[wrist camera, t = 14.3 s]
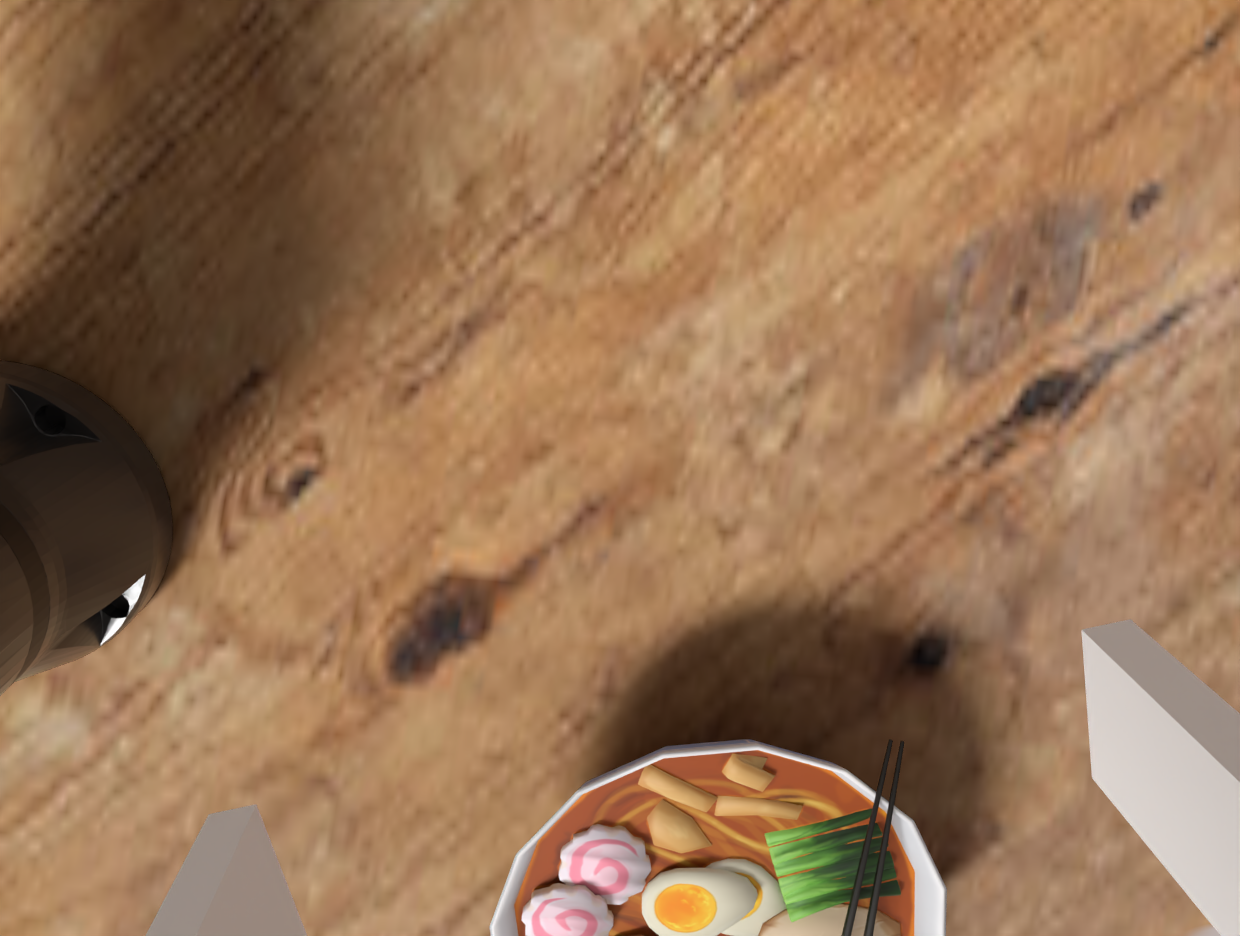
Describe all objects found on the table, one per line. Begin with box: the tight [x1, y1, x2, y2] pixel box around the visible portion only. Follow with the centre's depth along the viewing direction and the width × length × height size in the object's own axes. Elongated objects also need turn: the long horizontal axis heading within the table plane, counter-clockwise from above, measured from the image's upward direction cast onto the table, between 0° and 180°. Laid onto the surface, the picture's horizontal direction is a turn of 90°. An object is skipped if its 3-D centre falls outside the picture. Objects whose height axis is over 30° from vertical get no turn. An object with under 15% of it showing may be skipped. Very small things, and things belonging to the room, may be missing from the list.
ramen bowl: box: [490, 739, 947, 936], centre depth 54 cm, size 25×23×8 cm
